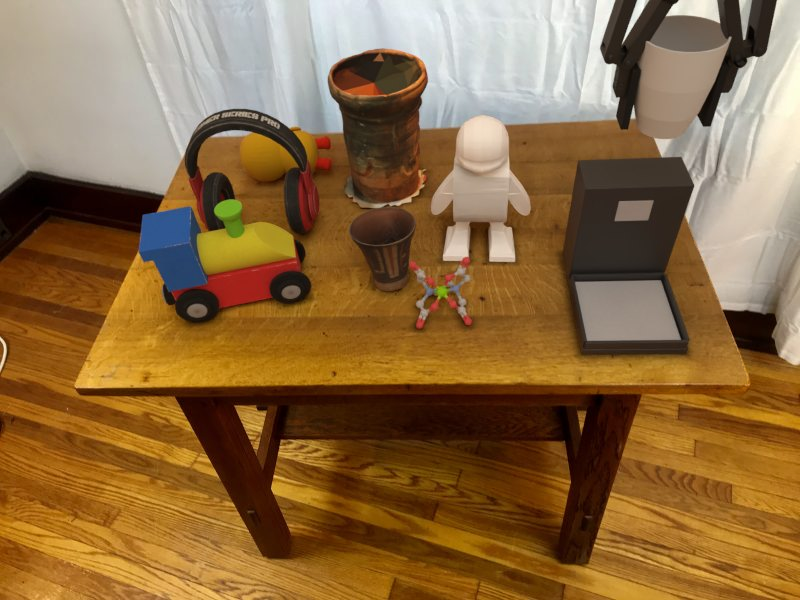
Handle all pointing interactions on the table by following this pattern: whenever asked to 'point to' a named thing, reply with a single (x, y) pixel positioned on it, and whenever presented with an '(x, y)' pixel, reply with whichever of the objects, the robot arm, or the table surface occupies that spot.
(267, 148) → the toy
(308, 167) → the headphones
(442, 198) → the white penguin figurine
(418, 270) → the molecular model
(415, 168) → the vessel
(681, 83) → the cup
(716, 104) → the robot arm
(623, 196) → the open gift box
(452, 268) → the table surface
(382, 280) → the cup
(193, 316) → the toy train
